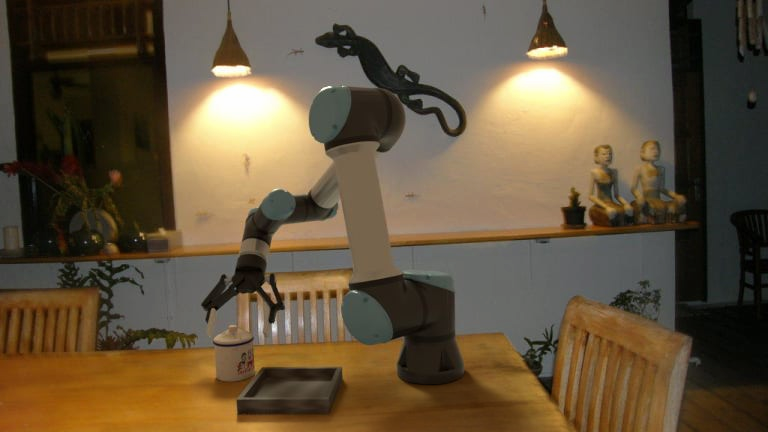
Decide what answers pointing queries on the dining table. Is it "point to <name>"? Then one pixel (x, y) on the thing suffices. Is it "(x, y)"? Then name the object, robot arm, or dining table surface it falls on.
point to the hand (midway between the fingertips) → (237, 335)
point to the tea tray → (291, 391)
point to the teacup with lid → (234, 355)
